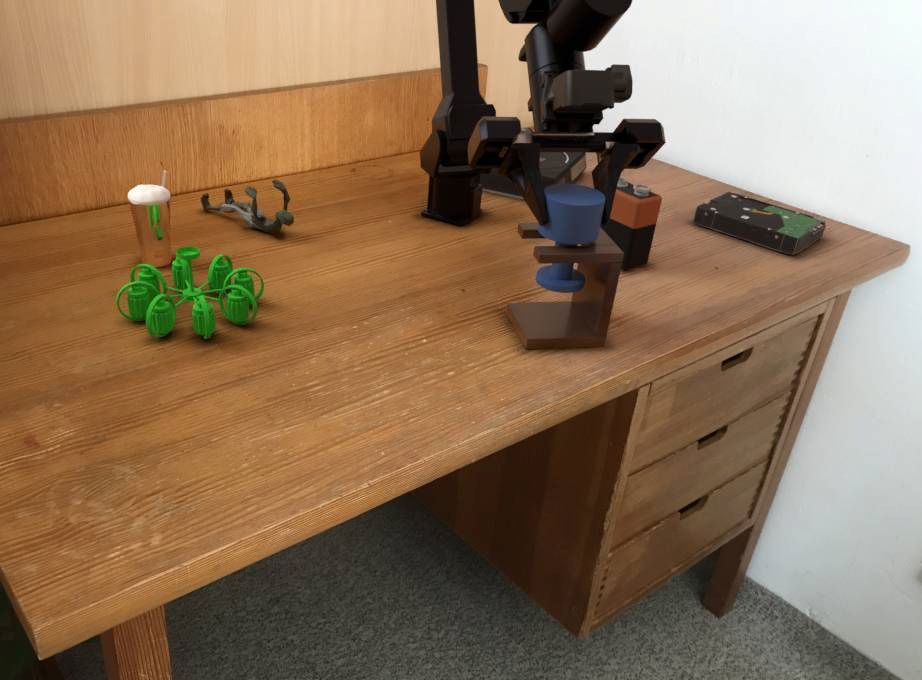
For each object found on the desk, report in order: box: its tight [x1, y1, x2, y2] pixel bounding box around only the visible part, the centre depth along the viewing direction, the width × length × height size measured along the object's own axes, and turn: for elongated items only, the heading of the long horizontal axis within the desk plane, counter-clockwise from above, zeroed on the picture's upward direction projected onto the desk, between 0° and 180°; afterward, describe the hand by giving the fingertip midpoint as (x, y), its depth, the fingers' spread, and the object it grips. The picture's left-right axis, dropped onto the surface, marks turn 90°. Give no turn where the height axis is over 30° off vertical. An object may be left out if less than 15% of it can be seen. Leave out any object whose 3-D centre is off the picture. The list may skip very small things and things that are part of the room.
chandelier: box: [115, 246, 265, 340], centre depth 84 cm, size 15×15×7 cm
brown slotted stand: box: [505, 222, 624, 350], centre depth 85 cm, size 8×8×10 cm
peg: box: [535, 183, 606, 294], centre depth 82 cm, size 6×6×10 cm
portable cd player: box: [480, 152, 587, 201], centre depth 128 cm, size 16×17×4 cm
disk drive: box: [693, 191, 827, 256], centre depth 115 cm, size 10×3×15 cm
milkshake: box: [127, 170, 172, 269], centre depth 94 cm, size 4×5×10 cm
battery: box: [600, 176, 663, 271], centre depth 102 cm, size 4×7×10 cm, turn 35°
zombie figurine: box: [200, 179, 295, 235], centre depth 105 cm, size 5×7×15 cm
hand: (574, 224), depth 80 cm, fingers closed on peg, 6 cm apart
